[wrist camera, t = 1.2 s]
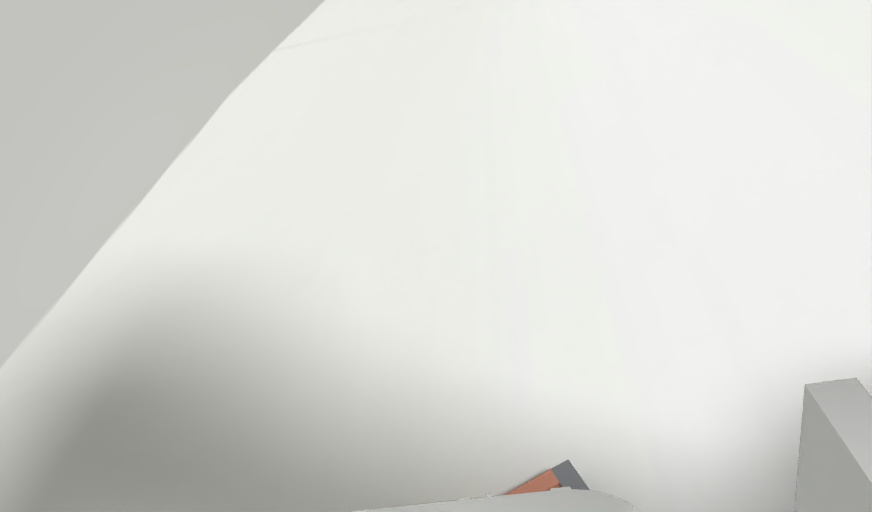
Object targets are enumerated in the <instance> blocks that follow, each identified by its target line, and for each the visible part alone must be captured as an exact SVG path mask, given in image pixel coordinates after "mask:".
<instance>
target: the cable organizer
mask: <svg viewBox="0 0 872 512" xmlns="http://www.w3.org/2000/svg"><path fill="white" fill-rule="evenodd" d="M349 512H638V511H637V510H636V509H635V508H634V507H633V506H632V505H631V504H629V503H628V502H626V501H624V500H622V499H620V498H618V497H615V496H612V495H609V494H605V493H601V492H597V491H590V490H578V489H571V488H570V486H569V487H560V488H551V490H550V491H542V492H532V493H523V494H513V495H504V496H494V497H491V495H490V493H486V497H484V498H475V499H469V497H464V498H459V499H457V500H455V501H446V502H436V503H426V504H417V505H407V506H397V507H388V508H378V509H369V510H359V511H349Z"/></svg>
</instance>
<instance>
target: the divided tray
mask: <svg viewBox="0 0 872 512" xmlns="http://www.w3.org/2000/svg"><path fill="white" fill-rule="evenodd" d="M569 486H570V488H571V489H578V490H589V489H588V487H587V486H586V484H585V483H584V481H583V480H582V479H581V477H580V476H579V474H578V473H577V471H576V470H575V469H574V467H573V466H572V464H571V463H570V461H569V460H566V461H565V462H563V463H561V464H559V465H557V466H556V467H554V468H552V469H550V470H548V471H547V472H545V473H543V474H541V475H539V476H538V477H536V478H534V479H532V480H530V481H529V482H527V483H525V484H523V485H521V486H520V487H518V488H516V489H514V490H513V491H511V492H509V493H507V494H505V495H513V494H523V493H532V492H542V491H550V490H551V488H560V487H569Z"/></svg>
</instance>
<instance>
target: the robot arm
mask: <svg viewBox="0 0 872 512" xmlns="http://www.w3.org/2000/svg"><path fill="white" fill-rule="evenodd" d="M794 512H872V397H871V396H870V395H869V393H868V392H867V391H866V390H865V388H864V387H863V386H862V384H861V383H860V382H859V381H858V379H857V378H852V379H844V380H836V381H828V382H821V383H813V384H805V389H804V401H803V413H802V425H801V438H800V450H799V462H798V474H797V486H796V498H795V511H794Z"/></svg>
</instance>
